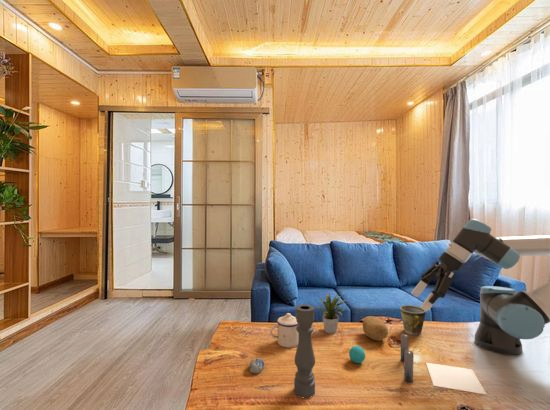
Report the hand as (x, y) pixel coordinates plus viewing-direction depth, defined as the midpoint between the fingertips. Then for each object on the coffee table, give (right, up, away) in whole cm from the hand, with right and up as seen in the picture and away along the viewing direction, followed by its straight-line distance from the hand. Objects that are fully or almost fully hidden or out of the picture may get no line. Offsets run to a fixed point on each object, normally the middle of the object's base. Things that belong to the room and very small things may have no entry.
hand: (418, 301), depth 116 cm
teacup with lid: (-51, -18, +6) cm, 54 cm away
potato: (-13, -19, +11) cm, 25 cm away
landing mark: (+3, -19, -18) cm, 26 cm away
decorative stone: (-61, -19, -13) cm, 65 cm away
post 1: (-9, -19, -7) cm, 22 cm away
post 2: (-12, -19, -19) cm, 30 cm away
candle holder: (-46, -19, -25) cm, 56 cm away
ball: (-26, -16, -9) cm, 31 cm away
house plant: (-30, -18, +16) cm, 39 cm away
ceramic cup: (+5, -19, +15) cm, 25 cm away
